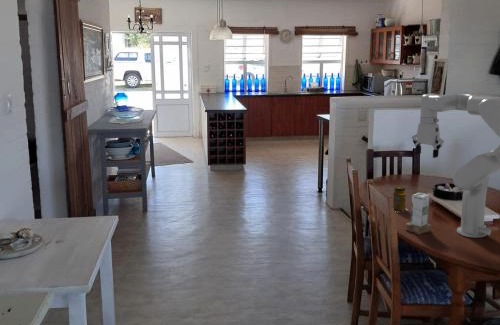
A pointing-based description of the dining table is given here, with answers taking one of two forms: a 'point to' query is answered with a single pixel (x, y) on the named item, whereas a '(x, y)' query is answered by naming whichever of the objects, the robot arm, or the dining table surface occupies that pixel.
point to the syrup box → (419, 209)
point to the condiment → (399, 199)
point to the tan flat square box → (418, 228)
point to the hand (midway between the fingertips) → (426, 155)
